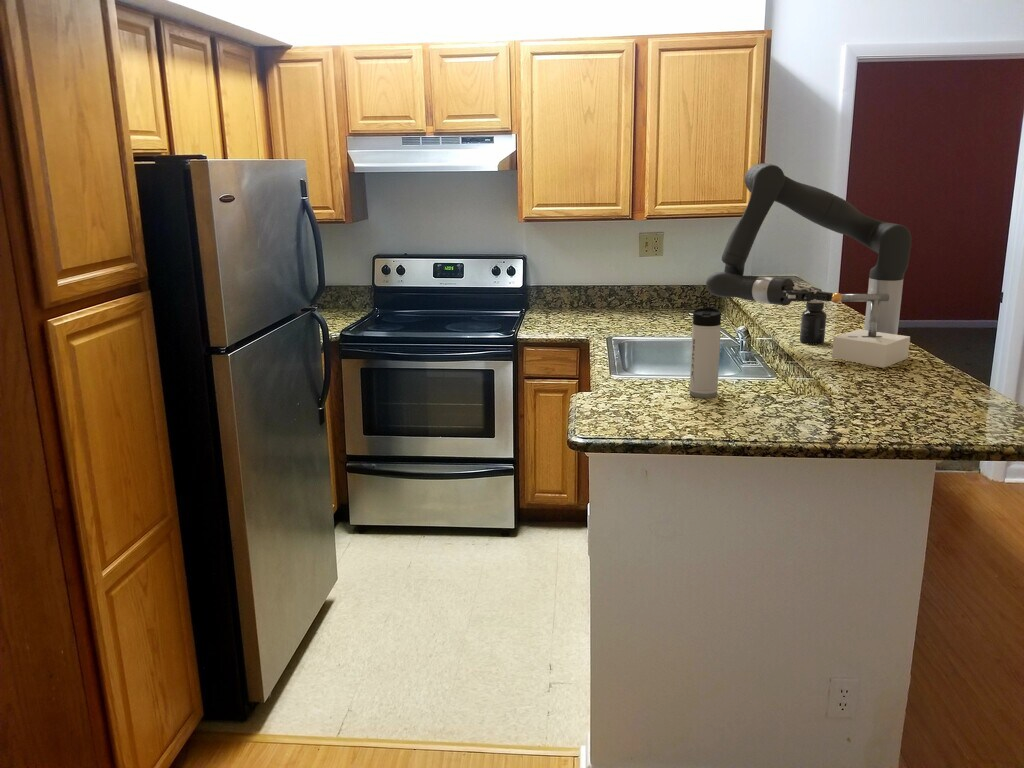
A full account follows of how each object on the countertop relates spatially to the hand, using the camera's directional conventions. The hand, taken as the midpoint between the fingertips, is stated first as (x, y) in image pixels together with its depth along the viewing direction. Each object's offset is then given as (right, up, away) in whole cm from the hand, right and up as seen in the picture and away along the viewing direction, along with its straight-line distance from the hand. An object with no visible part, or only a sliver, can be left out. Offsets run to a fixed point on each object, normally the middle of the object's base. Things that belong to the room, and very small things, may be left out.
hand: (831, 297), depth 212 cm
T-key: (+7, -10, +1) cm, 12 cm away
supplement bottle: (+3, -11, +23) cm, 26 cm away
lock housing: (+11, -16, +3) cm, 20 cm away
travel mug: (-40, -26, -27) cm, 55 cm away
